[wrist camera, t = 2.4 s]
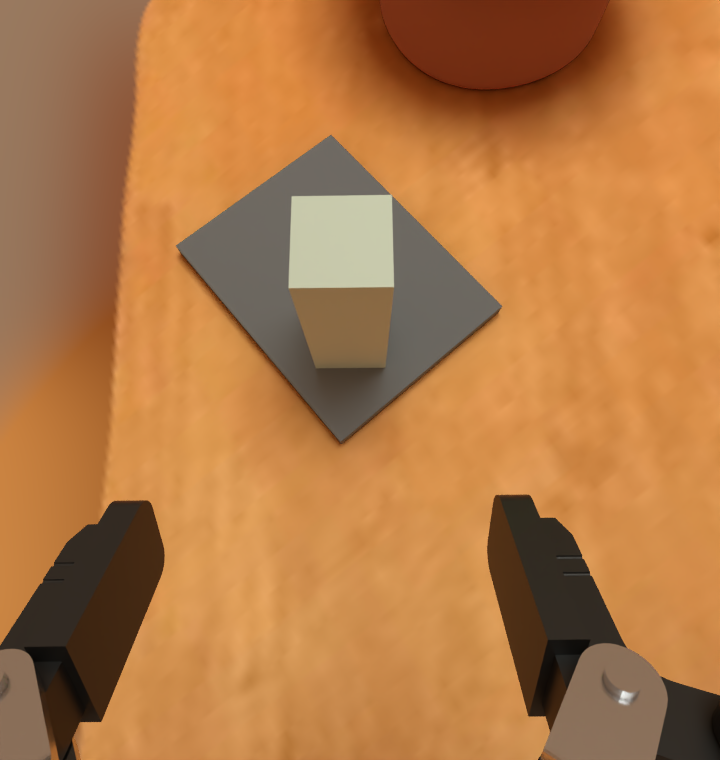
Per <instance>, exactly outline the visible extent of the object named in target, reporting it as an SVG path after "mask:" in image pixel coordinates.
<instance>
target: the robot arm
mask: <svg viewBox="0 0 720 760" xmlns="http://www.w3.org/2000/svg"><path fill="white" fill-rule="evenodd" d="M487 553H488V564H489V569H490V573H491V577H492V581H493V585H494V588H495V592H496V596H497V600H498V603H499V607H500V611H501V615H502V619H503V622H504V626H505V630H506V634H507V637H508V641H509V645H510V649H511V652H512V656H513V660H514V664H515V667H516V671H517V675H518V679H519V682H520V686H521V690H522V694H523V697H524V701H525V705H526V709H527V712H528V716H546V719H547V722H548V726H549V729H550V735H549V737H548V740H547V742H546V745H545V747H544V750H543V752H542V754H541V756H540V757H539V759H538V760H720V695H716V694H713V693H709V692H706V691H703V690H699V689H696V688H692V687H689V686H686V685H682V684H679V683H676V682H673V681H670V680H667V679H665V678H663V677H661V676H659V674H658V673H657V671H656V670H655V669H654V668H653V666H652V665H651V664H650V663H649V662H647V661H646V660H645V659H644V658H643V657H641V656H640V655H639V654H637V653H635V652H634V651H632V650H630V649H628V648H627V647H626V646H625V644H624V642H623V640H622V639H621V637H620V634H619V632H618V630H617V628H616V626H615V624H614V622H613V620H612V618H611V615H610V613H609V611H608V609H607V607H606V605H605V603H604V601H603V599H602V596H601V594H600V592H599V590H598V588H597V586H596V584H595V582H594V579H593V577H592V576H590V571H589V569H588V567H587V565H586V563H585V560H584V559H582V554H581V552H580V550H579V548H578V546H577V544H576V541H575V539H574V537H573V535H572V534H571V533H570V532H569V531H568V530H567V529H566V528H565V527H564V526H563V525H562V524H561V523H560V522H559V521H558V520H557V519H556V518H540V516H539V514H538V512H537V509H536V507H535V504H534V502H533V500H532V498H531V496H530V495H496V496H495V498H494V502H493V508H492V515H491V522H490V530H489V537H488V546H487ZM163 567H164V547H163V543H162V539H161V536H160V532H159V529H158V525H157V522H156V518H155V515H154V511H153V508H152V505H151V503H150V502H149V501H113V502H112V503H111V504H110V505H109V506H108V508H107V509H106V511H105V513H104V514H103V516H102V518H101V519H100V521H99V523H98V524H93V525H87V526H86V527H84V528H83V529H82V530H81V531H80V532H79V533H77V534H76V535H75V536H74V537H73V538H71V539H70V540H69V541H68V542H67V543H66V545H65V546H64V548H63V550H62V551H61V553H60V554H59V556H58V557H57V559H56V560H55V562H54V566H53V567H51V568H50V569H49V571H48V573H47V574H46V576H45V577H44V579H43V583H42V584H40V585H39V587H38V588H37V590H36V591H35V593H34V594H33V596H32V597H31V599H30V601H29V602H28V603H27V605H26V607H25V608H24V610H23V611H22V613H21V615H20V616H19V618H18V619H17V621H16V622H15V624H14V625H13V627H12V628H11V630H10V632H9V633H8V635H7V636H6V638H5V639H4V641H3V642H2V644H1V645H0V760H81V758H80V754H79V750H78V746H77V743H76V740H75V739H74V737H73V736H74V734H75V732H76V729H77V727H78V725H79V723H80V722H101V721H102V719H103V716H104V714H105V712H106V709H107V707H108V704H109V702H110V699H111V697H112V695H113V692H114V690H115V687H116V685H117V682H118V680H119V677H120V675H121V673H122V670H123V668H124V665H125V663H126V660H127V658H128V655H129V653H130V651H131V648H132V646H133V643H134V641H135V638H136V636H137V634H138V631H139V629H140V626H141V624H142V621H143V619H144V616H145V614H146V612H147V609H148V607H149V604H150V602H151V599H152V597H153V595H154V592H155V590H156V587H157V585H158V582H159V580H160V577H161V575H162V571H163Z"/></svg>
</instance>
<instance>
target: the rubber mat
mask: <svg viewBox="0 0 720 760" xmlns="http://www.w3.org/2000/svg"><path fill="white" fill-rule="evenodd" d="M347 195H391V194H390V193H389V192H388V191H387V190H386V189H385V188H384V187H383V186H382V185H381V184H380V183H379V182H378V181H377V180H376V179H375V178H374V177H373V176H372V175H371V174H370V173H369V172H368V171H367V170H366V169H365V168H364V167H363V166H362V165H361V164H360V163H359V162H358V161H357V160H356V159H355V158H354V157H353V156H352V155H351V154H350V153H349V152H348V151H347V150H346V149H345V148H344V147H343V146H342V145H341V144H340V143H339V142H338V141H337V140H336V139H335V138H334V137H333V136H332V135H330V136H329V137H327V138H326V139H324V140H323V141H322V142H320V143H319V144H317V145H316V146H315V147H313V148H312V149H310V150H309V151H308V152H306V153H305V154H303V155H302V156H301V157H299V158H298V159H296V160H295V161H294V162H292V163H291V164H289V165H288V166H287V167H285V168H284V169H282V170H281V171H280V172H278V173H277V174H275V175H274V176H273V177H271V178H270V179H268V180H267V181H266V182H264V183H263V184H261V185H260V186H259V187H257V188H256V189H254V190H253V191H252V192H250V193H249V194H247V195H246V196H245V197H243V198H242V199H241V200H239V201H238V202H236V203H235V204H234V205H232V206H231V207H229V208H228V209H227V210H225V211H224V212H222V213H221V214H220V215H218V216H217V217H215V218H214V219H213V220H211V221H210V222H208V223H207V224H206V225H204V226H203V227H201V228H200V229H199V230H197V231H196V232H194V233H193V234H192V235H190V236H189V237H187V238H186V239H185V240H183V241H182V242H180V243H179V244H178V245H176V247H177V248H178V250H179V251H180V253H181V254H182V255H183V256H184V257H185V259H186V260H187V261H188V262H189V263H190V265H191V266H192V267H193V268H194V269H195V270H196V272H197V273H198V274H199V275H200V276H201V278H202V279H203V280H204V281H205V282H206V284H207V285H208V286H209V287H210V288H211V290H212V291H213V292H214V293H215V294H216V295H217V297H218V298H219V299H220V300H221V301H222V303H223V304H224V305H225V306H226V307H227V309H228V310H229V311H230V312H231V313H232V314H233V316H234V317H235V318H236V319H237V320H238V322H239V323H240V324H241V325H242V326H243V328H244V329H245V330H246V331H247V332H248V334H249V335H250V336H251V337H252V338H253V339H254V341H255V342H256V343H257V344H258V345H259V347H260V348H261V349H262V350H263V351H264V353H265V354H266V355H267V356H268V357H269V359H270V360H271V361H272V362H273V363H274V364H275V366H276V367H277V368H278V369H279V370H280V372H281V373H282V374H283V375H284V376H285V378H286V379H287V380H288V381H289V382H290V383H291V385H292V386H293V387H294V388H295V389H296V391H297V392H298V393H299V394H300V395H301V397H302V398H303V399H304V400H305V401H306V403H307V404H308V405H309V406H310V407H311V408H312V410H313V411H314V412H315V413H316V414H317V416H318V417H319V418H320V419H321V420H322V422H323V423H324V424H325V425H326V426H327V427H328V429H329V430H330V431H331V432H332V433H333V435H334V436H335V437H336V438H337V439H338V441H339V442H340V443H341V444H342V443H343V442H345V441H346V440H347V439H348V438H349V437H351V436H352V435H353V434H354V433H355V432H356V431H358V430H359V429H360V428H361V427H362V426H364V425H365V424H366V423H367V422H368V421H370V420H371V419H372V418H373V417H374V416H376V415H377V414H378V413H379V412H380V411H381V410H383V409H384V408H385V407H386V406H387V405H389V404H390V403H391V402H392V401H393V400H395V399H396V398H397V397H398V396H399V395H401V394H402V393H403V392H404V391H405V390H406V389H408V388H409V387H410V386H411V385H412V384H414V383H415V382H416V381H417V380H418V379H420V378H421V377H422V376H423V375H424V374H426V373H427V372H428V371H429V370H430V369H431V368H433V367H434V366H435V365H436V364H437V363H439V362H440V361H441V360H442V359H443V358H445V357H446V356H447V355H448V354H449V353H451V352H452V351H453V350H454V349H455V348H456V347H458V346H459V345H460V344H461V343H462V342H464V341H465V340H466V339H467V338H468V337H470V336H471V335H472V334H473V333H474V332H475V331H477V330H478V329H479V328H480V327H481V326H483V325H484V324H485V323H486V322H487V321H489V320H490V319H491V318H492V317H493V316H495V315H496V314H497V313H498V312H499V311H500V309H501V307H502V306H501V305H500V304H499V303H498V302H497V301H496V300H495V299H494V298H493V297H492V296H491V295H490V294H489V293H488V292H487V291H486V290H485V289H484V288H483V287H482V286H481V285H480V284H479V283H478V282H477V281H476V280H475V279H474V278H473V277H472V276H471V275H470V274H469V273H468V272H467V271H466V270H465V269H464V268H463V267H462V266H461V265H460V264H459V263H458V262H457V261H456V260H455V259H454V258H453V256H452V255H451V254H450V253H449V252H448V251H447V250H446V249H445V248H444V247H443V246H442V245H441V244H440V243H439V242H438V241H437V240H436V239H435V238H434V237H433V236H432V235H431V234H430V233H429V232H428V231H427V230H426V229H425V228H424V227H423V226H422V225H421V224H420V223H419V222H418V221H417V220H416V219H415V218H414V217H413V216H412V215H411V214H410V213H409V212H408V211H407V210H406V209H405V208H404V207H403V206H402V205H401V204H400V203H399V202H398V201H397V200H396V199H395V198H394V197H393V196H392V220H393V263H394V292H393V302H392V311H391V320H390V329H389V338H388V348H387V357H386V366H385V368H316V367H315V364H314V361H313V358H312V356H311V353H310V350H309V347H308V344H307V341H306V338H305V335H304V332H303V329H302V326H301V323H300V320H299V318H298V315H297V312H296V309H295V306H294V303H293V300H292V297H291V294H290V291H289V288H288V287H289V258H290V230H291V201H292V196H347Z"/></svg>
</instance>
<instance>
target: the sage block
mask: <svg viewBox="0 0 720 760" xmlns="http://www.w3.org/2000/svg"><path fill="white" fill-rule="evenodd" d="M288 288H289V291H290V294H291V297H292V300H293V303H294V306H295V309H296V312H297V315H298V318H299V320H300V323H301V326H302V329H303V332H304V335H305V338H306V341H307V344H308V347H309V350H310V353H311V356H312V358H313V361H314V364H315V367H316V368H385V366H386V357H387V348H388V338H389V329H390V320H391V311H392V302H393V292H394V263H393V220H392V195H347V196H292V201H291V230H290V258H289V287H288Z"/></svg>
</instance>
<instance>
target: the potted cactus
mask: <svg viewBox="0 0 720 760" xmlns="http://www.w3.org/2000/svg"><path fill="white" fill-rule="evenodd" d="M608 2H609V0H380V6H381V12H382V16H383V19H384V22H385V25H386V28H387V30H388V32H389V34H390V36H391V38H392V39H393V41H394V43H395V44H396V46H397V47H398V48H399V50H400V51H401V52H402V53H403V55H404V56H405V57H406V58H407V59H408V60H409V61H410V62H411V63H413V64H414V65H415V66H416V67H417V68H419V69H420V70H422V71H423V72H424V73H426V74H428V75H429V76H431V77H433V78H435V79H437V80H439V81H442V82H444V83H447V84H450V85H454V86H458V87H463V88H470V89H501V88H509V87H515V86H519V85H523V84H527V83H530V82H533V81H536V80H539V79H542V78H544V77H546V76H549V75H551V74H553V73H554V72H556V71H558V70H560V69H561V68H563V67H564V66H566V65H567V64H569V63H570V62H571V61H572V60H574V59H575V58H576V57H577V56H578V55H579V54H580V53H581V52H582V51H583V49H584V48H585V47H586V46H587V44H588V43H589V41H590V39H591V38H592V36H593V34H594V32H595V30H596V28H597V26H598V24H599V22H600V20H601V18H602V15H603V13H604V11H605V9H606V7H607V5H608Z"/></svg>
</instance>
